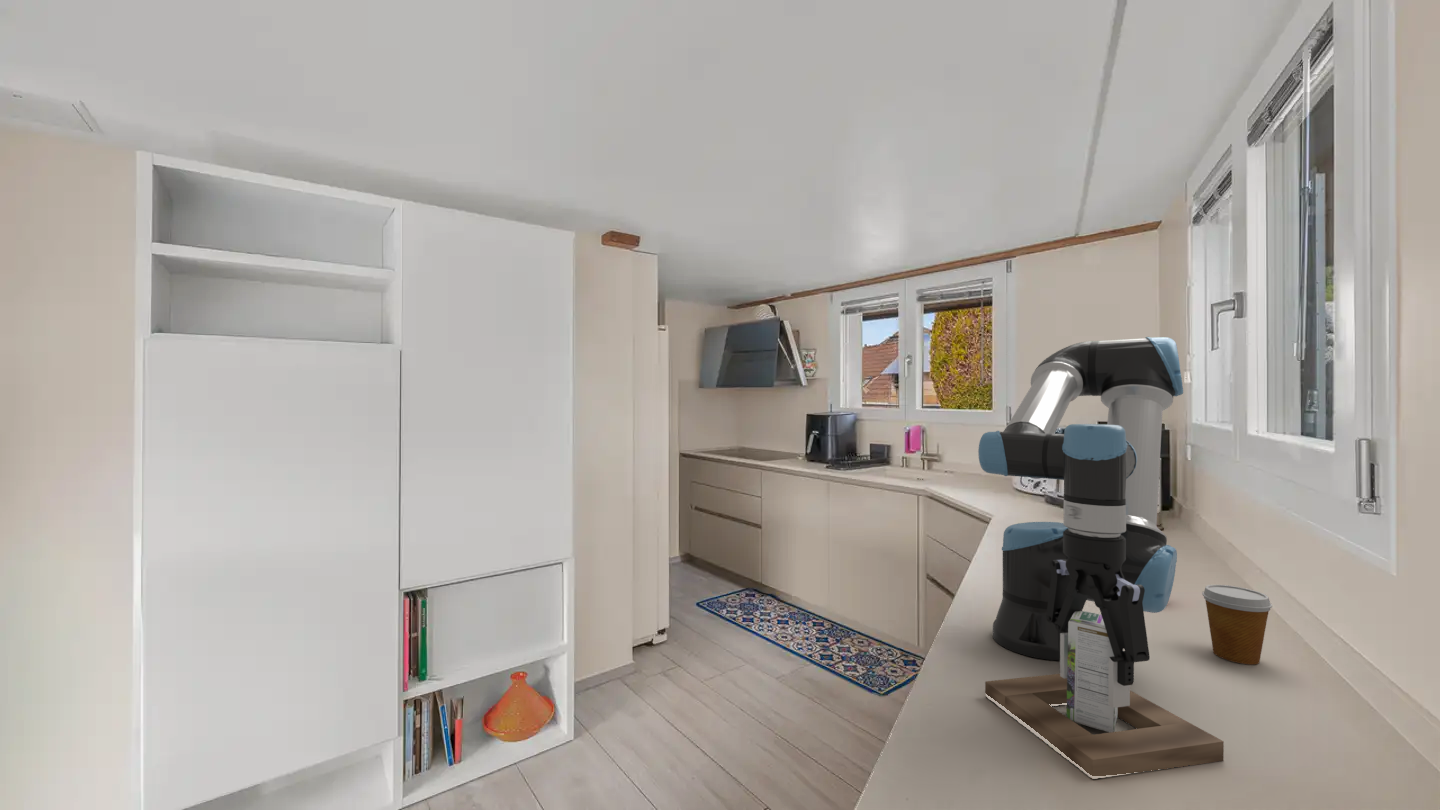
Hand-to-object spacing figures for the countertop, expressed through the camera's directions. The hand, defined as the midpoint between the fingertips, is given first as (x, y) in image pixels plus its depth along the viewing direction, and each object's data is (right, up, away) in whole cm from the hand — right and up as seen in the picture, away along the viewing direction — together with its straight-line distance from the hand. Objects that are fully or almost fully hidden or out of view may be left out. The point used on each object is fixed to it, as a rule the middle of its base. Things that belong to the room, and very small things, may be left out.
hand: (1093, 689), depth 81 cm
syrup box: (0, -4, 0) cm, 4 cm away
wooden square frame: (0, -5, 0) cm, 5 cm away
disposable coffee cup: (+41, -6, +23) cm, 47 cm away
